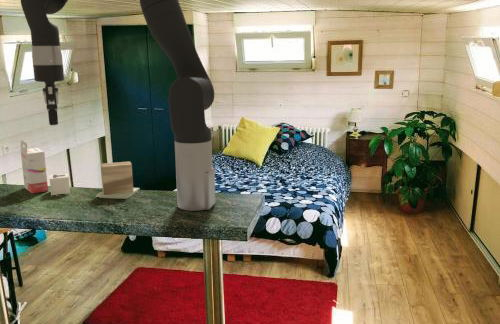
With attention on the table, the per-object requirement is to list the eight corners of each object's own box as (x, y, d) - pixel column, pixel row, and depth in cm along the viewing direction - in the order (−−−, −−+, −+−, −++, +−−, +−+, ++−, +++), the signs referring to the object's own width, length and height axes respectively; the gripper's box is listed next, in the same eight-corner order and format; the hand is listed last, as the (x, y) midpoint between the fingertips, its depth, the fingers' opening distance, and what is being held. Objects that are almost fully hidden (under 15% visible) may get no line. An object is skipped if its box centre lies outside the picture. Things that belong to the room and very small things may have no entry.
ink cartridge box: (49, 191, 142) (44, 141, 138) (31, 194, 139) (25, 143, 135) (41, 185, 148) (36, 137, 145) (24, 187, 145) (18, 139, 142)
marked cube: (70, 194, 139) (68, 176, 137) (51, 196, 137) (49, 178, 136) (69, 189, 143) (68, 172, 142) (51, 191, 141) (49, 174, 140)
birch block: (133, 191, 138) (131, 164, 136) (104, 195, 135) (101, 166, 133) (131, 188, 141) (129, 161, 140) (102, 191, 139) (100, 163, 137)
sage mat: (139, 189, 142) (139, 187, 142) (126, 198, 133) (126, 196, 133) (110, 188, 143) (110, 186, 143) (95, 197, 135) (95, 195, 135)
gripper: (63, 63, 127) (68, 125, 130) (62, 62, 140) (67, 119, 143) (31, 64, 124) (38, 127, 128) (33, 63, 137) (39, 120, 141)
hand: (53, 122), depth 136 cm, fingers open, 8 cm apart
